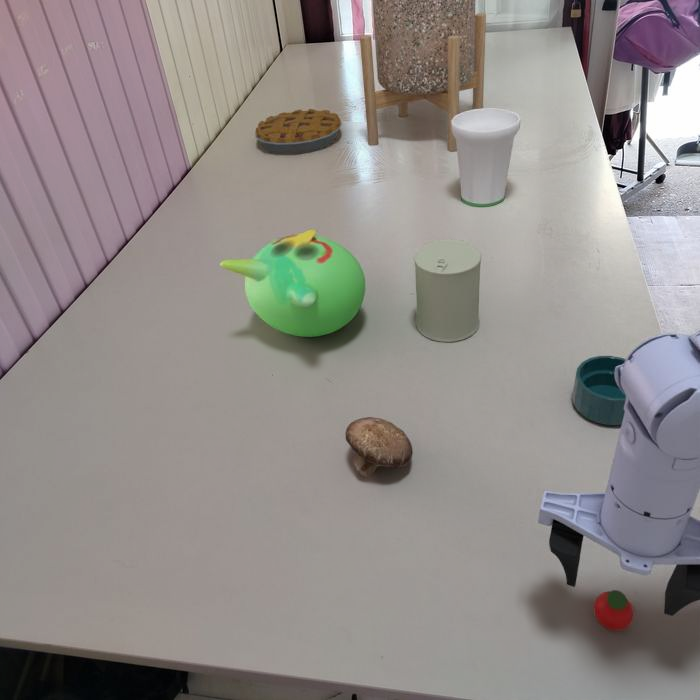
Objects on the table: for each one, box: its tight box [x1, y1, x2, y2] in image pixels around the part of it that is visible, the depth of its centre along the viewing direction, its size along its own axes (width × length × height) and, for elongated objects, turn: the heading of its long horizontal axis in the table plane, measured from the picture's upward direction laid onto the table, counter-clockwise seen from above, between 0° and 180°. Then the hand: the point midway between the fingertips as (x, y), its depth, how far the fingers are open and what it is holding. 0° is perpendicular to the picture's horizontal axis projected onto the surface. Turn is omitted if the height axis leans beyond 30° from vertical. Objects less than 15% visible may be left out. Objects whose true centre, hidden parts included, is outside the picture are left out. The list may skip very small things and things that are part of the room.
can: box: [413, 239, 482, 343], centre depth 90 cm, size 9×9×12 cm
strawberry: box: [593, 589, 634, 631], centre depth 56 cm, size 3×3×4 cm
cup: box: [451, 107, 522, 208], centre depth 120 cm, size 12×12×15 cm
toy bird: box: [219, 228, 366, 338], centre depth 92 cm, size 18×17×15 cm
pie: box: [254, 108, 343, 155], centre depth 158 cm, size 22×22×5 cm
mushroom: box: [345, 416, 414, 478], centre depth 73 cm, size 8×8×6 cm
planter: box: [359, 0, 487, 152], centre depth 146 cm, size 22×23×32 cm
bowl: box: [571, 355, 626, 426], centre depth 76 cm, size 8×8×4 cm
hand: (619, 589), depth 54 cm, fingers open, 7 cm apart
